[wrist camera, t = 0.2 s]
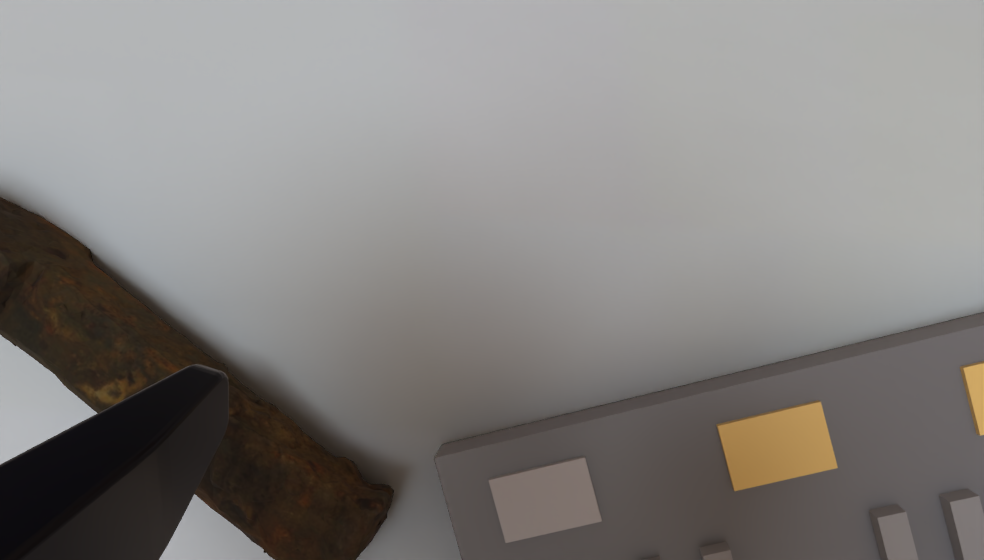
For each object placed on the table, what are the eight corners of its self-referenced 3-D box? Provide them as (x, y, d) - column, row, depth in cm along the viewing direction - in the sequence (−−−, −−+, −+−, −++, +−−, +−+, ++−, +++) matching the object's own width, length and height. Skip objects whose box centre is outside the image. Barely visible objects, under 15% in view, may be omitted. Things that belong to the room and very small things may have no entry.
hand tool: (415, 484, 25) (381, 541, 20) (340, 569, 25) (289, 644, 20) (2, 117, 25) (-123, 90, 21) (-64, 206, 26) (-201, 199, 21)
